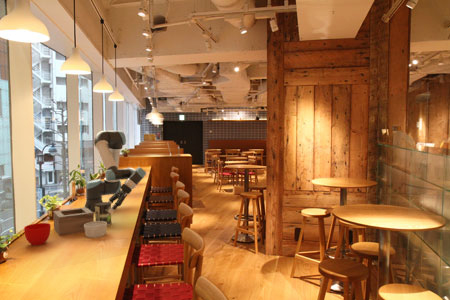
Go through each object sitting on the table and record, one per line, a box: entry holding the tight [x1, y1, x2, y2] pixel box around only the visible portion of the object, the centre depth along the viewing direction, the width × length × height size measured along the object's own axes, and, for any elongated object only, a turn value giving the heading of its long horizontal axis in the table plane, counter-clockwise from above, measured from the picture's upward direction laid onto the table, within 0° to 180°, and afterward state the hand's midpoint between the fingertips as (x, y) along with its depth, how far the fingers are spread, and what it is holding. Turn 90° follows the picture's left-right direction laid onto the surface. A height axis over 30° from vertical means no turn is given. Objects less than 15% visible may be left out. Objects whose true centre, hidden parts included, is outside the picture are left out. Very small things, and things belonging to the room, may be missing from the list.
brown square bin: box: [52, 206, 95, 237], centre depth 225 cm, size 20×20×12 cm
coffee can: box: [94, 201, 112, 226], centre depth 236 cm, size 10×10×14 cm
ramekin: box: [84, 221, 108, 239], centre depth 212 cm, size 13×13×7 cm
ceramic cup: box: [23, 222, 51, 246], centre depth 198 cm, size 13×17×10 cm
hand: (106, 211), depth 237 cm, fingers open, 13 cm apart
